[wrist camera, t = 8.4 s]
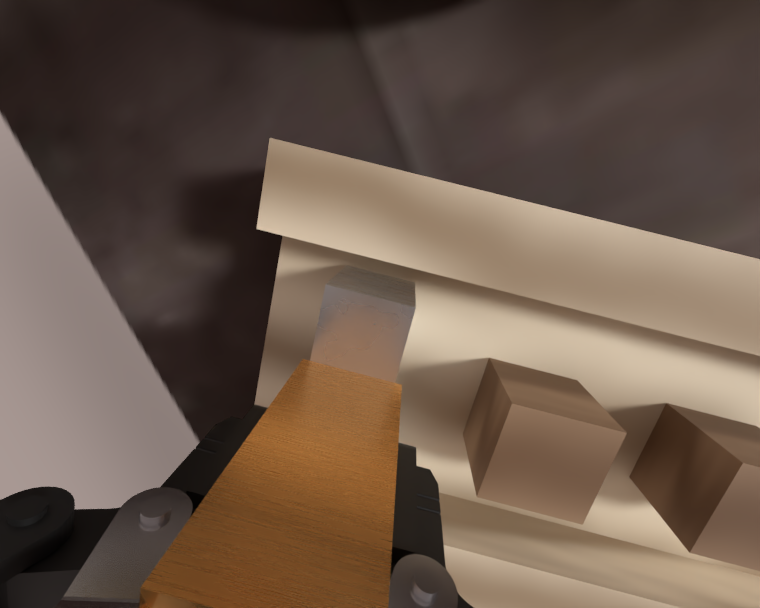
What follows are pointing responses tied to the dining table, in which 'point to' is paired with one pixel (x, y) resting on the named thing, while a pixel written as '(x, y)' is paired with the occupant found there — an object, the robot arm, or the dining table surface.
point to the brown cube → (705, 483)
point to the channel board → (526, 360)
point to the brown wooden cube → (539, 441)
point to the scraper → (308, 474)
